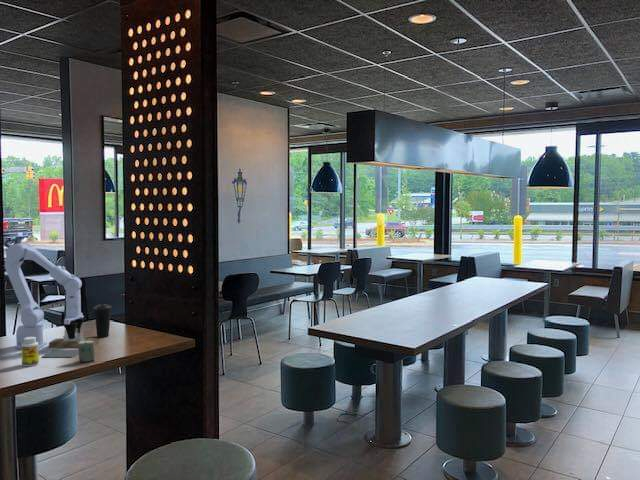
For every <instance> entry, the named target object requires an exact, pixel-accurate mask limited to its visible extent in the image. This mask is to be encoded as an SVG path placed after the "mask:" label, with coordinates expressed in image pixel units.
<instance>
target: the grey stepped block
mask: <svg viewBox="0 0 640 480" xmlns="http://www.w3.org/2000/svg"><path fill="white" fill-rule="evenodd" d="M63 332H64V335H63V337H62V338H63V342H81V341H82V340H84V338H85V333H81V332H80V333H79V334H78V328H76V331H75V338H74V339H69V338H68V334H67V331H66V329H64V331H63Z"/></svg>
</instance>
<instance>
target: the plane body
mask: <svg viewBox="0 0 640 480" xmlns="http://www.w3.org/2000/svg"><path fill="white" fill-rule="evenodd" d="M83 341H94V345H95V346H97V345H98V344H99V338H98V337H97V338H85V337H84V340H82V341H81V342H83ZM97 343H98V344H97ZM48 348H78V342H63V337H60V338H59V337H56V338H54V339H52V340H51V341H49V342H48Z"/></svg>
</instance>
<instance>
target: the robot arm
mask: <svg viewBox="0 0 640 480" xmlns="http://www.w3.org/2000/svg"><path fill="white" fill-rule="evenodd" d="M5 255H6V256H5V262H4V269H5V271H6V273H7V275H8V279H9V281H10V283H11V285H12V288H13V291H14V293H15V296H16V298H17V301H18V302H19V305H20V309H19V310H20V311H19V313H20V316H21V318H20V320H21V321H20V322H21V324H22V325H19V326H18V327H17V329H16V335H15V336H16V347H15V349H22V344H23V343H24V338H26V337H36V342H38V349H41V348H42V347H44V346H45V345H47V344H48V342H44V331H43V330H44V329H43V327H44V325H43V322H42V321H43V320H44V318H45V312H44V310H42V309H41V307H39V304H38V303H37V302H36V301H35V300H34V298H33V295H32V293H31V290H30V287H29V285H28V283H27V280H26V278H25V275H24V273H23V271H22V270H23V269H21V265H22V264H23V263H24V261H25V260H26V261H34V262H35V263H36V264H38V265H39V266H41V267H42V268H44V269H45V270H46V271H48V272H49V277H51V278H52V279H53V280H54V281H56V282H57V283H59V284H60V285H61V286H63V289H64V291H65V315H66V316H65V318H64V319H63V323H62V326H63V327H64V330H66V331H67V334H68V338H69V339H74V338H75V331H76V328H78V334H79V333H80V334H81V329H82V325H83V323H84V322H85V318H84V317H85V316H84V315H83V314H84V313H83V312H82V309H81V308H82V301H81V300H82V299H81V297H82V296H81V295H82V294H81V288H82V286H83V282H82V280H81V278H79V277H78V276H75V274H71V272H69V271H67V269H66V267H65V266H63V265H62V266H61V265H55V264H54V263H53V262H51V261H50V260H49V259H48V258H47V257H46V256H44V254H42V253H41V252H40V251H38V250H37V248H35V247H34V246H32V245H30V243H28V242H26V241H25V242H24V241H23V242H22V241H21V242H20V243H19V242H18V243H14V244H11V245H10V246H9V247H8V248H7V250H6V251H5Z"/></svg>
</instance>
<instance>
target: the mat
mask: <svg viewBox="0 0 640 480" xmlns="http://www.w3.org/2000/svg"><path fill="white" fill-rule="evenodd" d="M77 355H79V349H52V350H50V351H49V352H47V353H46V354H44V355H42V356H41V359H42V358H44V359H49V358H50V359H51V358H52V359H58V358H59V359H61V358H62V359H64V358H65V359H68V357H73V358H75V357H76V356H77ZM74 356H75V357H74Z"/></svg>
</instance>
